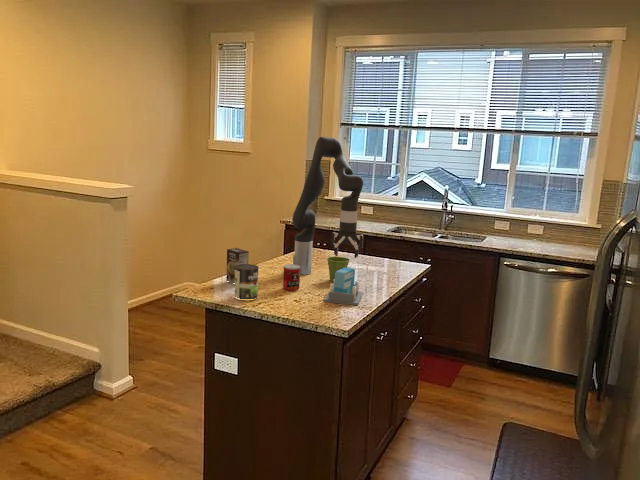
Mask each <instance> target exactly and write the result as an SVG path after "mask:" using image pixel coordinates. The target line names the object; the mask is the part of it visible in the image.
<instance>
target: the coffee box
mask: <svg viewBox="0 0 640 480" xmlns="http://www.w3.org/2000/svg"><path fill="white" fill-rule="evenodd" d="M249 255H250V252H249V250H245V249H242V248H239V247H238V248H237V247H236V248H235V247H234V248H227V249H226V279H225V280H226V281H225V282H227V281H229V282H232V283H235V266H236V265H240V264H249ZM229 282H228V283H229ZM232 283H231V284H232Z"/></svg>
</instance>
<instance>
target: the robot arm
mask: <svg viewBox="0 0 640 480" xmlns="http://www.w3.org/2000/svg"><path fill="white" fill-rule="evenodd" d="M313 150H314V151H313V154H312V159H311V163H310V166H309V171H308V173H307V175H306V179H305V181H304V186H303V189H302V192H301V194H300V197H299V200H298V202H297V204H296V206H295V208H294V212H293V214H292V221H291V223H292V225H293V227H295V228H296V229H303V230H302V231H300V232H298V233H297V234H295V236H294V254H293V258H292V264H294V265H299V266H300V276H301V275H302V276H304V275H311V274H312V265H313V262H312V261H313V245H314V244H313V242H314V236H315V228H316V214H315V212H314V210H312V209H308V208H309V206H311V204H313V202H315V201H316V200H317V199H318V198H319V196H320V195H321V193H322V192H323V189H324V185H325V182H326V181H325V174H324V172H323V169H322V166H321V165H322V164H321V163H322V160H323V158H331V159H332V158H333V159H334V161H333V164H332V169H333V171H334V173H335V175H336V176H337V181H338V188H339V189H340V190H341V191H343V192H351V193H350V195H346V196H343V197H342V198H341V202H340V203H341V207H340V214H339V229H338V232H335V231H332V232H331V238H330V244H329V245H330V246H331V247H333V248H334V250H333V251H334V252H333V254H334V255H335V256H334V257H339V256H338V254H339V246H340V245H341V243H342V244H349V245H352V246H353V248H355V249H354V259H357V258H358V257H359V251H360V250H362V249H363V248H364V234H357V225H358V203H359V202H358V201H359V198H360V194H361V193H362V189H363V186H364V181H363V177H362V176H361V175H360V174H354V171H353V169H352V168H351V166H350V164H349V162H348V161H347V160H346V159H347V158H346V157H345V153H344V150H343V147H342V145H341V142H340V141H339V139H337V138H333V137H326V136H320V137H318V138H317V141H316V143H315V145H314V149H313ZM337 237H338V238H339V240H338V241H337V243H335V240H336V239H335V238H337ZM356 239H358V240H359V244H358V243H357V241H356Z"/></svg>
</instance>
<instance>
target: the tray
mask: <svg viewBox="0 0 640 480" xmlns="http://www.w3.org/2000/svg"><path fill="white" fill-rule="evenodd" d="M334 280H335V279H334ZM359 284H360V281H358V280H354V286H353V288H352V294H348V293H338V292H334V282H332V283H330V284H329V291H328V293H327V294H326V296H325V297H324V299H323V302H324V303H331V304H338V303H339V304H340V305H341V304H342V305H348V304H350V305H349V306H357V305H359V303H360V302H361V300H362V297H363V295H364V292H362V291H360V290H359V289H360V288H359V287H360V285H359Z"/></svg>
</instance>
